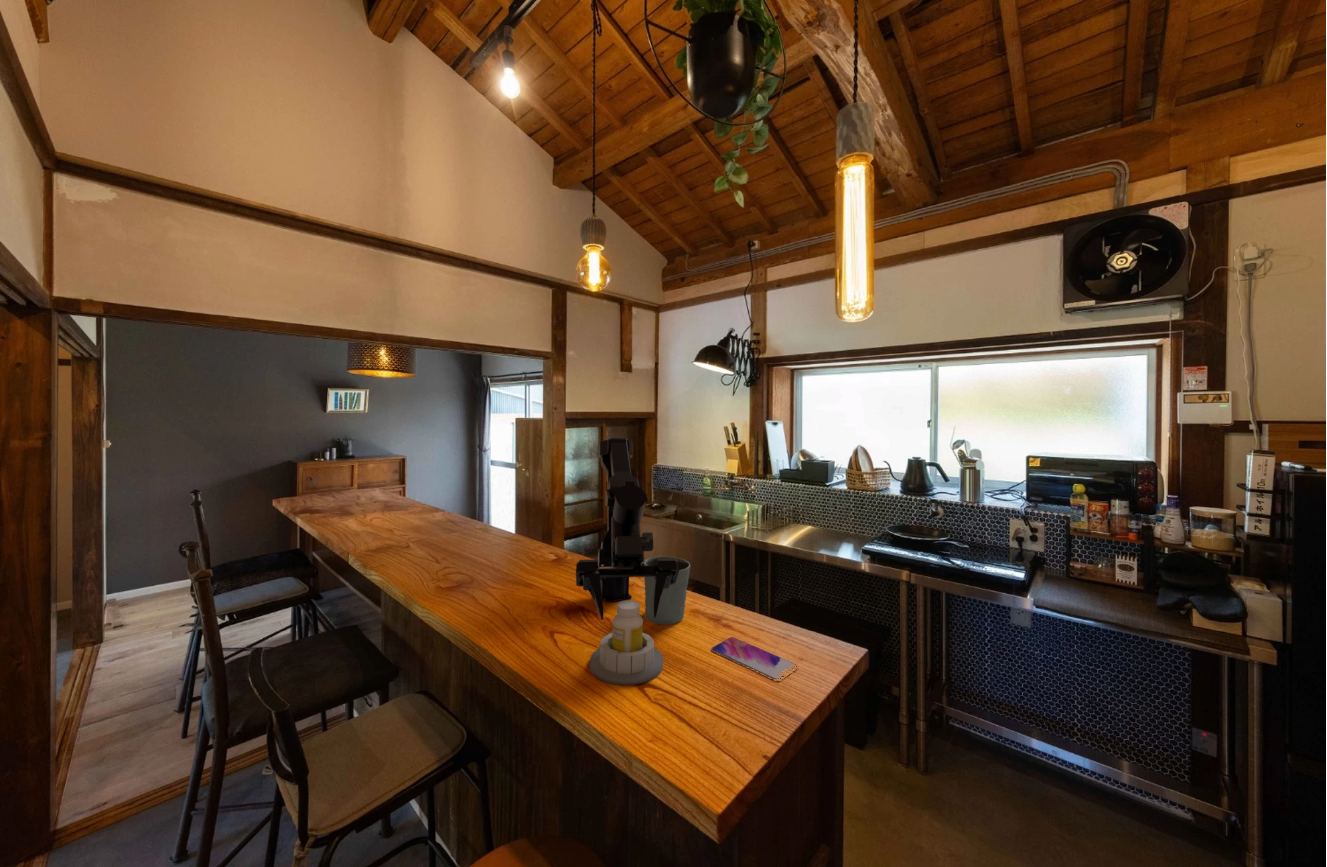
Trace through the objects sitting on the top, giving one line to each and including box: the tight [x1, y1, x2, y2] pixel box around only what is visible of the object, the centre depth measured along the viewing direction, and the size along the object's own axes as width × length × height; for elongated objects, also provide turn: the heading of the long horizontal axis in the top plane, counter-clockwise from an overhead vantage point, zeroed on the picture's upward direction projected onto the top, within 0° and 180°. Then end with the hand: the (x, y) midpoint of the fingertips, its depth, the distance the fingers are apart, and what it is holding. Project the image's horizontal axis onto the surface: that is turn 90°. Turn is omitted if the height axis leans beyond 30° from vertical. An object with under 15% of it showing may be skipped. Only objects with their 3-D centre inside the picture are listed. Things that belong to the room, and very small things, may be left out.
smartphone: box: [710, 636, 797, 679], centre depth 89 cm, size 7×1×15 cm
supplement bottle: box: [611, 599, 644, 653], centre depth 85 cm, size 5×5×10 cm
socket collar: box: [589, 632, 664, 686], centre depth 85 cm, size 13×13×4 cm
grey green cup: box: [643, 555, 691, 626], centre depth 106 cm, size 10×10×12 cm
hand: (628, 618), depth 84 cm, fingers open, 9 cm apart
